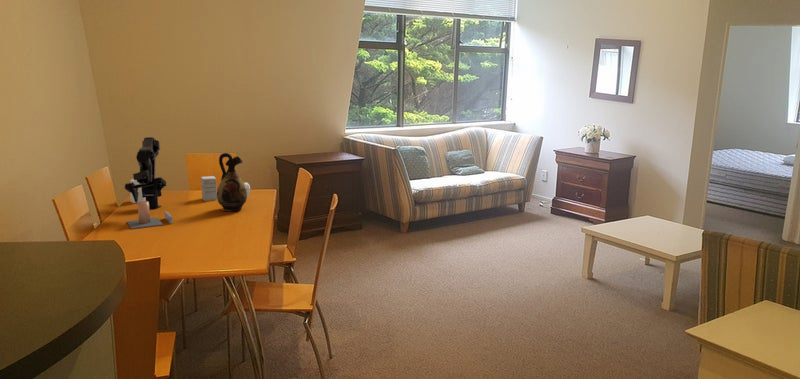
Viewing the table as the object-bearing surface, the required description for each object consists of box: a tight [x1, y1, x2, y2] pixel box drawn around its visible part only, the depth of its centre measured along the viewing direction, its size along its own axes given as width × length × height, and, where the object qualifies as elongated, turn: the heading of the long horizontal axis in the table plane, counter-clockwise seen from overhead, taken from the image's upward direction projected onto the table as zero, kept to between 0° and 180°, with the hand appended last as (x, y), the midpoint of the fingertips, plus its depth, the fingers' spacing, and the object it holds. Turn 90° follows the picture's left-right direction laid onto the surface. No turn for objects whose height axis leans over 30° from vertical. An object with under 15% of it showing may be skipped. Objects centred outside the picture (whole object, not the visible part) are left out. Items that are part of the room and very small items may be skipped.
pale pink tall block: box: [136, 201, 151, 224], centre depth 283 cm, size 5×5×10 cm
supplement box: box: [200, 175, 218, 202], centre depth 335 cm, size 7×7×13 cm
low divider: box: [164, 210, 173, 225], centre depth 289 cm, size 12×1×4 cm, turn 32°
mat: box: [126, 217, 164, 230], centre depth 284 cm, size 14×14×1 cm
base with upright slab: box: [129, 178, 146, 204], centre depth 327 cm, size 9×9×12 cm
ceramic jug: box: [216, 152, 248, 213], centre depth 310 cm, size 17×15×30 cm
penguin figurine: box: [243, 182, 251, 198], centre depth 340 cm, size 6×8×12 cm
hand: (145, 200), depth 289 cm, fingers open, 9 cm apart
